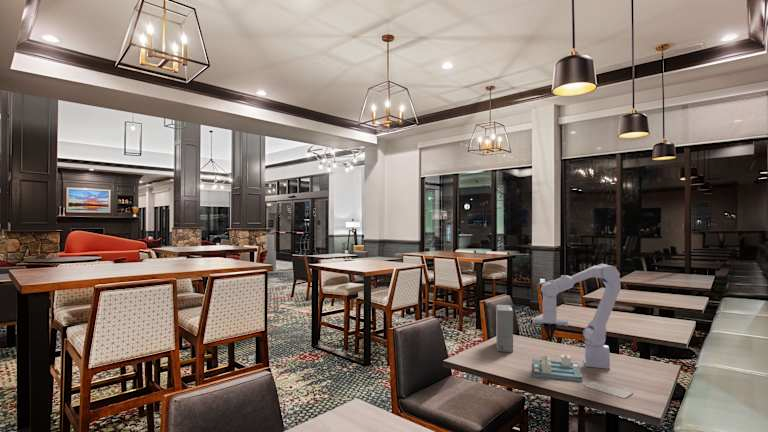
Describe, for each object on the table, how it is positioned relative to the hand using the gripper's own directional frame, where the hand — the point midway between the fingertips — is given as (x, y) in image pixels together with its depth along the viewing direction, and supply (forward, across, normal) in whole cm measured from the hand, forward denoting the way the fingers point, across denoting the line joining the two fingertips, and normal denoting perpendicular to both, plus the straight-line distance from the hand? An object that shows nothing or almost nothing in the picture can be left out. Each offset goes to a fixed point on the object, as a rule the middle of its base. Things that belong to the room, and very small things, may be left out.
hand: (550, 340), depth 183 cm
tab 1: (+9, +2, +10) cm, 13 cm away
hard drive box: (+10, +21, -18) cm, 29 cm away
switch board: (+10, -2, +10) cm, 14 cm away
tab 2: (+9, +2, +16) cm, 18 cm away
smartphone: (+10, -19, +24) cm, 32 cm away
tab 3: (+9, -6, +4) cm, 12 cm away
